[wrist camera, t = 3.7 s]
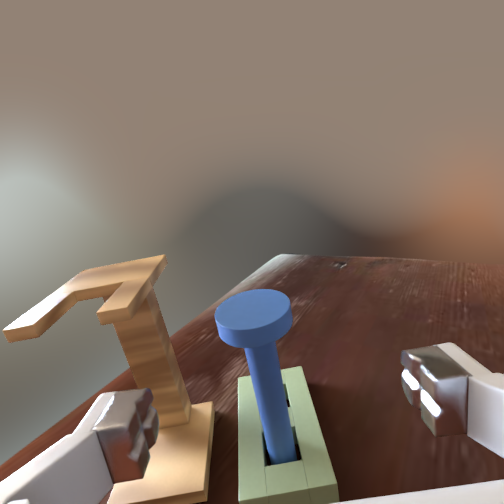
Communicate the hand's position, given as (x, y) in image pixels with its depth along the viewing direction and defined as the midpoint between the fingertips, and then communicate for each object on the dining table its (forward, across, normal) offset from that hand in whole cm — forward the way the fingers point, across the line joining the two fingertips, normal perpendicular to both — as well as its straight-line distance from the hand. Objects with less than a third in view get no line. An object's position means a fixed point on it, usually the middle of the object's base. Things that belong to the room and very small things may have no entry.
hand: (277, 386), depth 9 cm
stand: (+18, +12, +21) cm, 30 cm away
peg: (+15, 0, +20) cm, 25 cm away
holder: (+18, 0, +20) cm, 27 cm away
